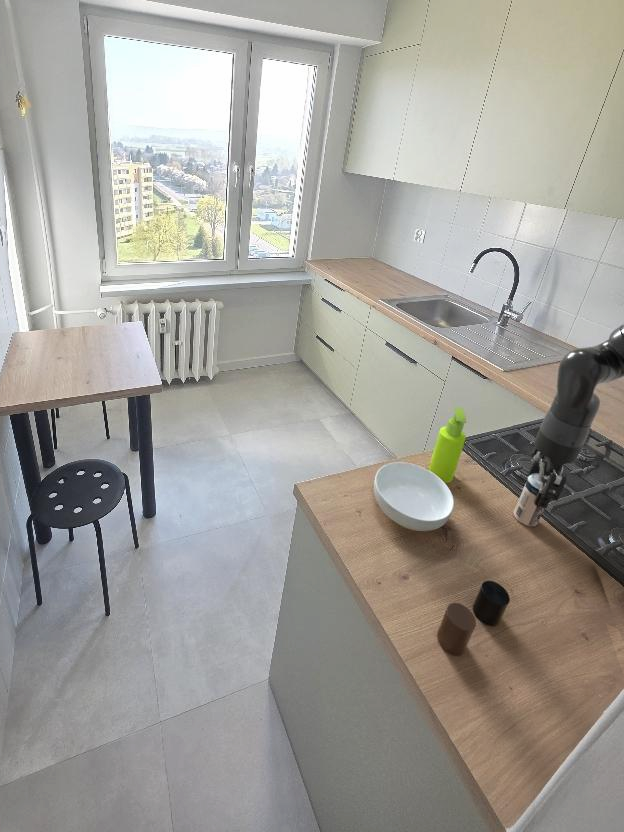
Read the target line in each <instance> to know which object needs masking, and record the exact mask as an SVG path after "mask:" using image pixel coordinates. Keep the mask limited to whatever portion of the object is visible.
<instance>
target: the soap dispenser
mask: <svg viewBox="0 0 624 832" xmlns="http://www.w3.org/2000/svg"><path fill="white" fill-rule="evenodd" d="M453 411H454V415H453V417H450V418H449V419H448V422H447V424H446V425H444V426H442V427H440V429H439V431H438V434H437V439H436V442H435V445H434V449H433V452H432V456H431V459H430V463H429V467H428V469H427V470H429V471H431V472H432V473H434V474H435V475H436V476H438V477H439V478H440V479H441V480H442V481H443V482H444V483H451V482H452V481H453V479H454V477H455V473H456V470H457V467H458V464H459V460H460V458H461V454H462V452H463V448H464V445H465V442H466V438H467V436H466V434H465V433H464V432H463V429H464V426H465V424H466V423H467V419H466V414H465V410H464V408H461V407H454V409H453Z"/></svg>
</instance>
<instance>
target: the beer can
mask: <svg viewBox="0 0 624 832" xmlns="http://www.w3.org/2000/svg"><path fill="white" fill-rule="evenodd" d="M538 477H539V474H538V473H534V474H532V475H530V476H529V477H528V476H527V479H526V481H525V484H524V487H523V489H522V491H521V493H520V496H519V498H518V500H517V503H516V505H515V508H514V510H513V516H514V517H515V519H516V520H517V521H518V522H520V523H521V524H523V525H525V526H527V527H536V526H537V525H538V524H539V522H540V519H541V517H542V515H543V512H544V510H545V508H541V507H538V506H536V505H535V504H534V500H535V498H536V496H537V494H538V492H539V489H540V483H541V482H540V481H539V480H538ZM544 478H545V479H548V476H544ZM545 485H546V483H545Z"/></svg>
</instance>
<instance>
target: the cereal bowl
mask: <svg viewBox="0 0 624 832" xmlns="http://www.w3.org/2000/svg"><path fill="white" fill-rule="evenodd" d="M373 483H374V484H373V492H374V493H373V494H374V497H375V500H376V503H377V504H378V506H379V508H380V510H381V511H382V512H383V513H384V514H385V515H386V516H387V517H388V518H389V519H390V520H392V522H394V523H395V524H398V525H399V526H401V527H403V528H406V529H408V530H411V531H417V532H431V531H434V530H437V529H440V528H442V527H443V526H444V525H445V524H446V523H447V522H448V521H449V520H450V517H451V516H452V513H453V510H454V506H455V500H454V496H453V494H452V492H451V490H450V488H449V486H448V485H447V484H446V482H443V481H442V480H441V479H440V478H439V477H438V476H436V475H435V474H434V473H432V472H431V471H429V470H428V469H427V468H425V467H422V466H421V465H418V464H414V463H410V462H404V461H395V462H390V463H386V464H384V465H382V466H381V467H380V468H378V470H377V472H376V473H375V477H374V481H373Z"/></svg>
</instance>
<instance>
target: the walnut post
mask: <svg viewBox="0 0 624 832" xmlns="http://www.w3.org/2000/svg"><path fill="white" fill-rule="evenodd" d="M476 627H477V622H476V616H475V614H474V613H473V612H472V611H471V610H470V609H469V608H468V607H467V606H465V605H464V604H461V603H459V602H451V603H449V604H448V605H447V607H446V610H445V613H444V615H443V617H442V620H441V622H440V625H439V627H438V630H437V633H436V638H437V641H438V643H439V646H440V647H441V648H442V649H443V650H444V651H445V652H446V653H448V654H449V655H452V656H454V657H459V656H462V655H464V654H465V652H466V649H467V647H468V644H469V642H470V640H471V637H472V635H473V632H474V631H475V629H476Z"/></svg>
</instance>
